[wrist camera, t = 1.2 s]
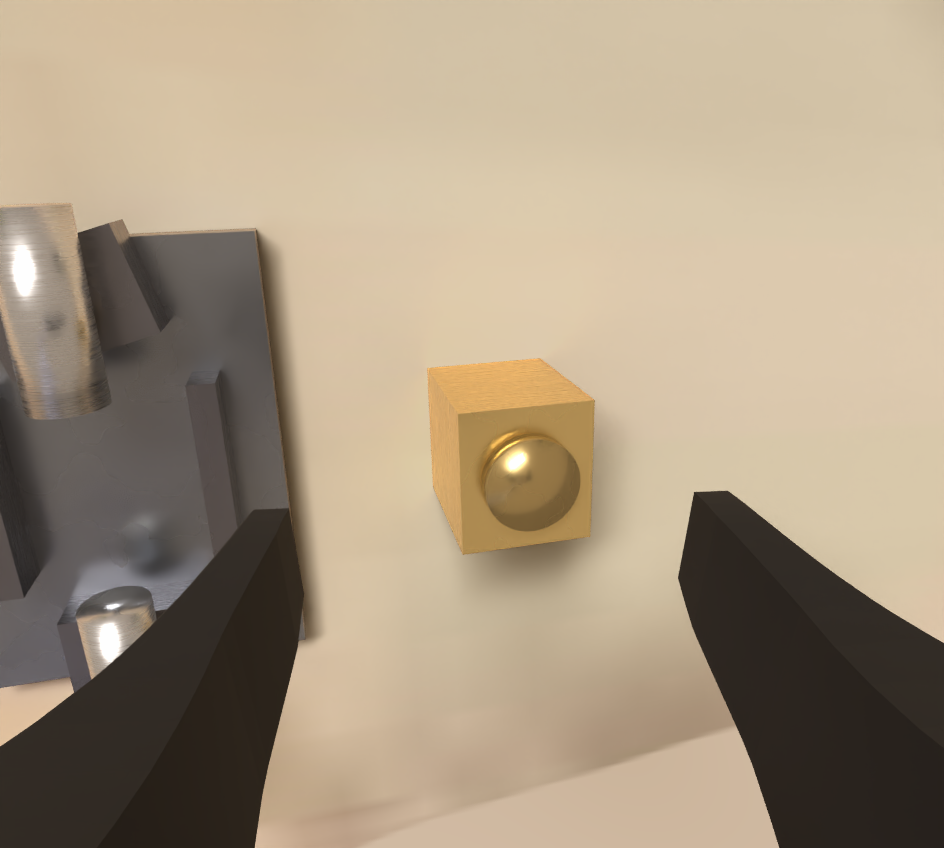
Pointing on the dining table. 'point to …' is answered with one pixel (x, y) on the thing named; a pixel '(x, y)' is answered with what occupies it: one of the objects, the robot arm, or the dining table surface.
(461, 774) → the dining table surface
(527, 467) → the coupler
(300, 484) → the dining table surface
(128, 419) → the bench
